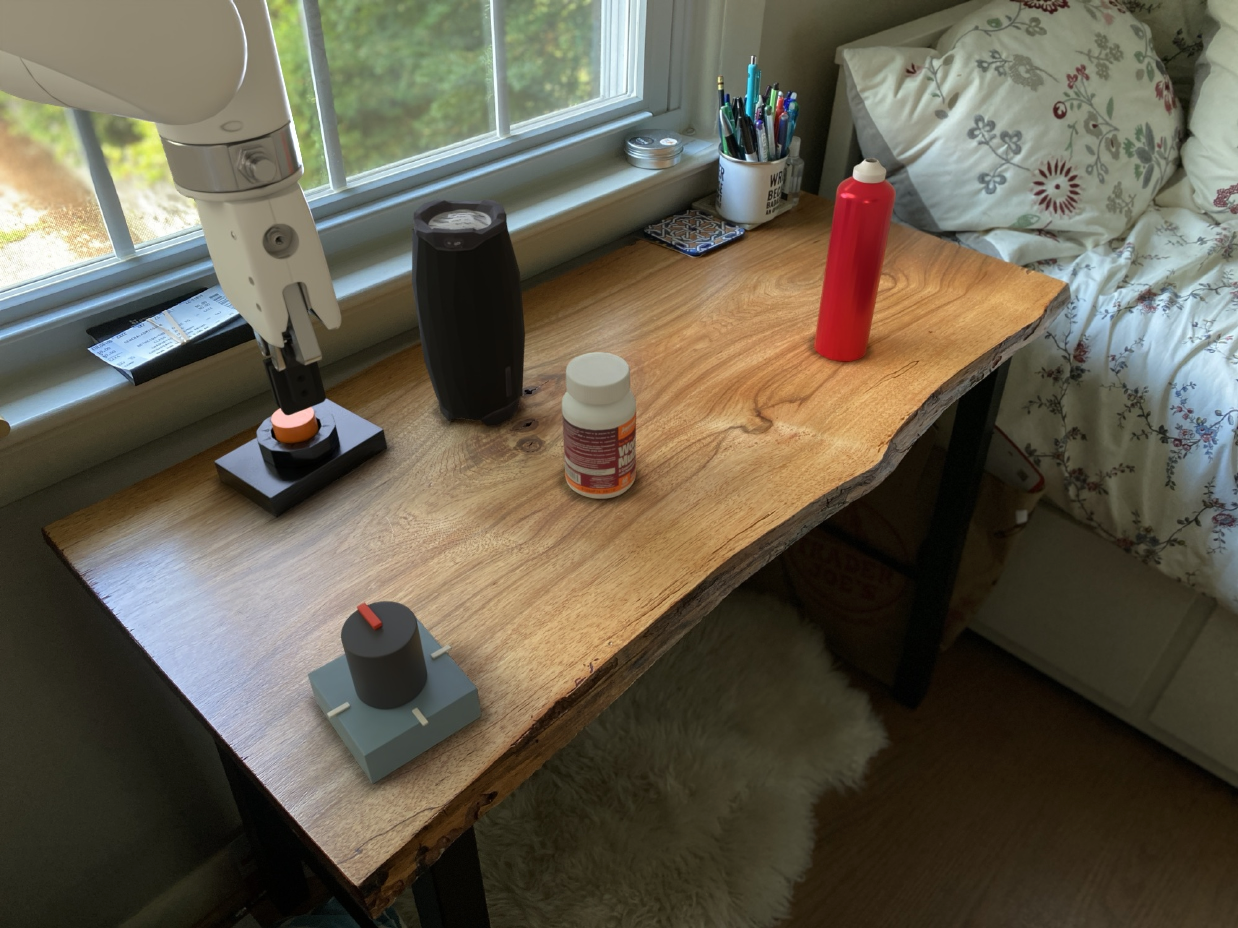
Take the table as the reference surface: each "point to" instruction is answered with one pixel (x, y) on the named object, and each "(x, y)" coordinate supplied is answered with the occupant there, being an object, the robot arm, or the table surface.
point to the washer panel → (397, 711)
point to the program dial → (384, 654)
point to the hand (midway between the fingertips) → (301, 403)
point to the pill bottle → (599, 426)
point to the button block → (300, 459)
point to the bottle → (854, 262)
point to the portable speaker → (469, 308)
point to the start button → (294, 425)
